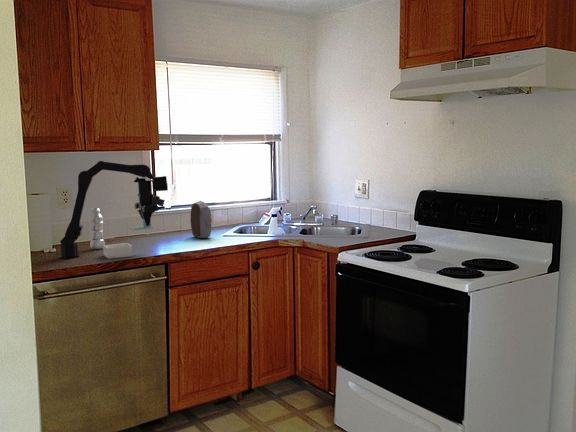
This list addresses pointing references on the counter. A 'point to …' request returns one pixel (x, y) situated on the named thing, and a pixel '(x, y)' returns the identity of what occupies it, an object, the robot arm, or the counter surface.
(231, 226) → the counter surface
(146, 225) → the lid
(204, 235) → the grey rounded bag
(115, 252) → the tub
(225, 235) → the counter surface
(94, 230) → the plastic bottle
